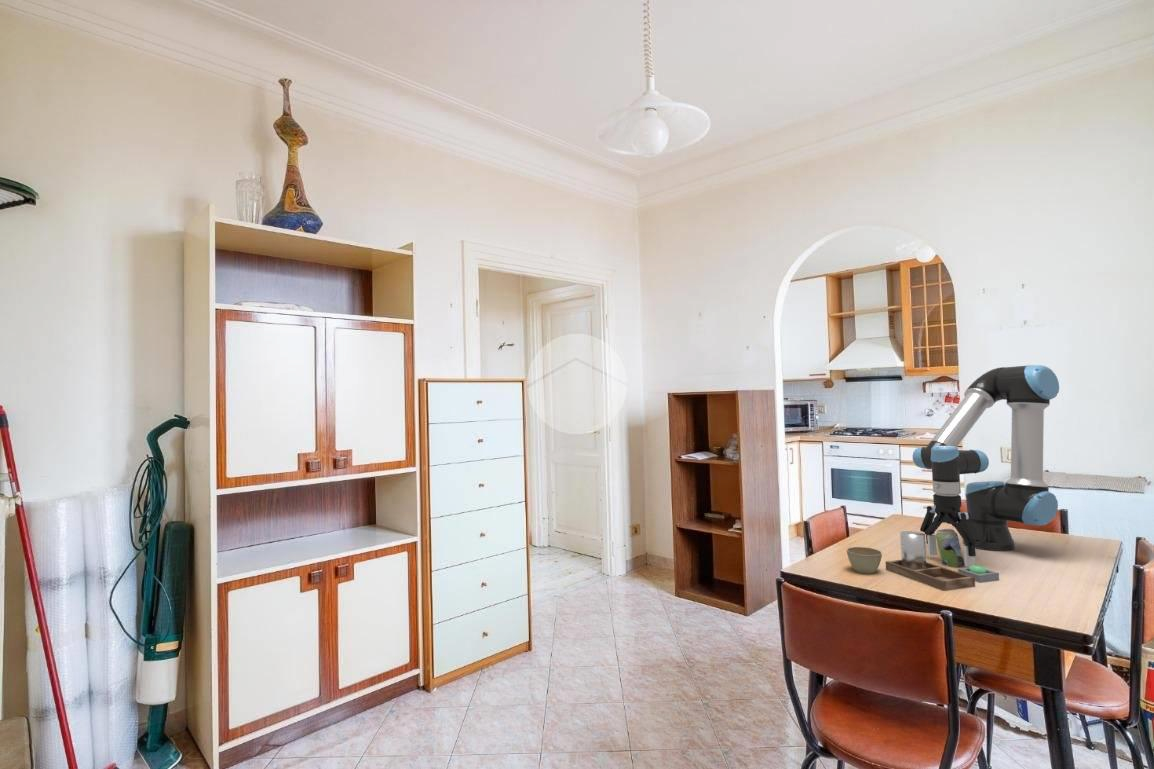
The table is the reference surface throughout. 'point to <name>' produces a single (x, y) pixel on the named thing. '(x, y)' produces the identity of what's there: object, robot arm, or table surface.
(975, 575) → the gray soap dish
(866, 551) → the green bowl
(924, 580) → the brown compartment tray
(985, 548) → the robot arm
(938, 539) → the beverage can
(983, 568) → the button
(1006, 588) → the table surface
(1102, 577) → the table surface
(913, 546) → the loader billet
